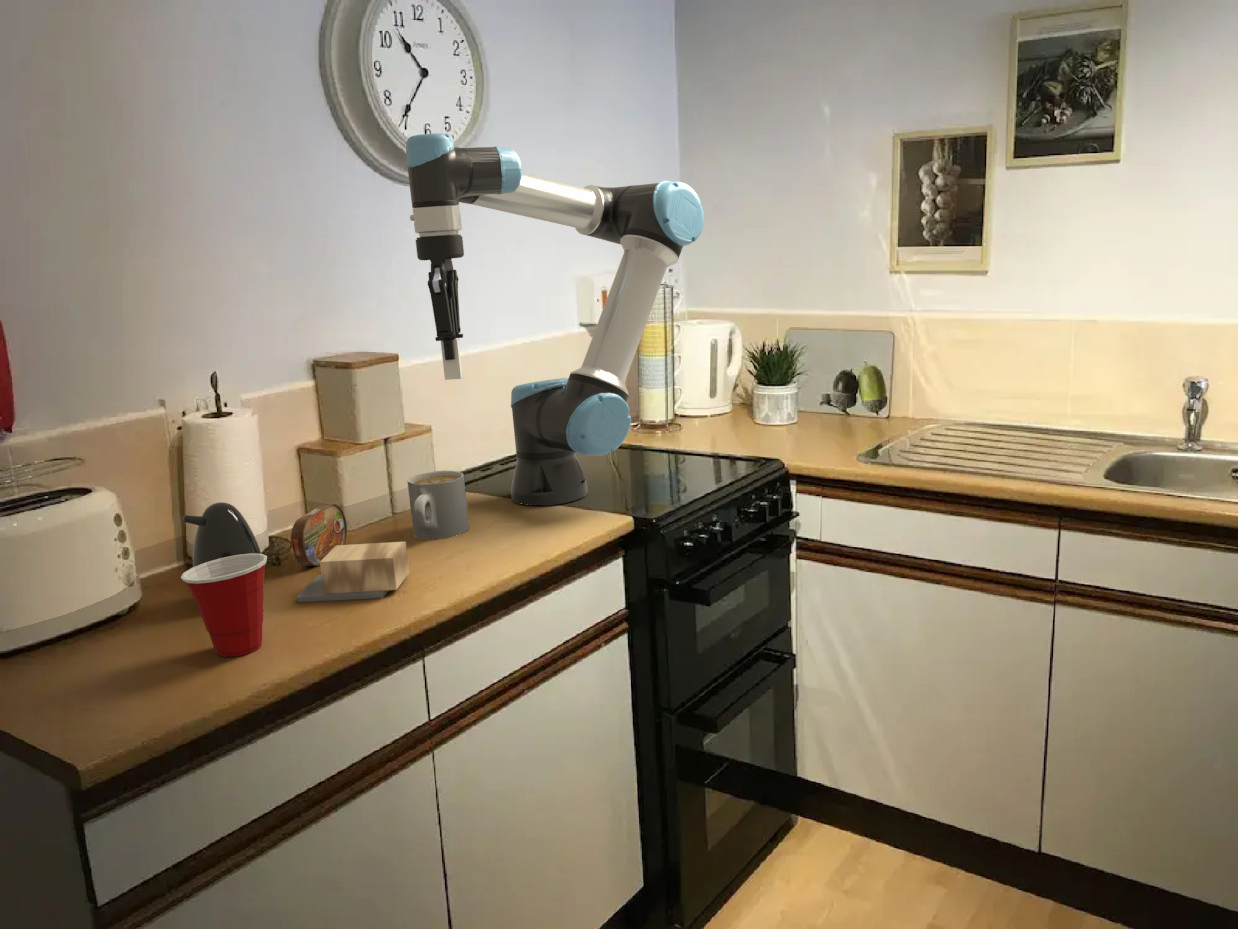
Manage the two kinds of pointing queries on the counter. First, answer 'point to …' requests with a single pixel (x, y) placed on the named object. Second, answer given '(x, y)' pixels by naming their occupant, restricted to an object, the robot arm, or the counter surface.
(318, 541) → the tin
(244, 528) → the pump dispenser
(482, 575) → the counter surface
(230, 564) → the plastic cup
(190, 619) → the counter surface
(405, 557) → the oak block
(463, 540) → the counter surface
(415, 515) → the coffee mug
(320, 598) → the plate
